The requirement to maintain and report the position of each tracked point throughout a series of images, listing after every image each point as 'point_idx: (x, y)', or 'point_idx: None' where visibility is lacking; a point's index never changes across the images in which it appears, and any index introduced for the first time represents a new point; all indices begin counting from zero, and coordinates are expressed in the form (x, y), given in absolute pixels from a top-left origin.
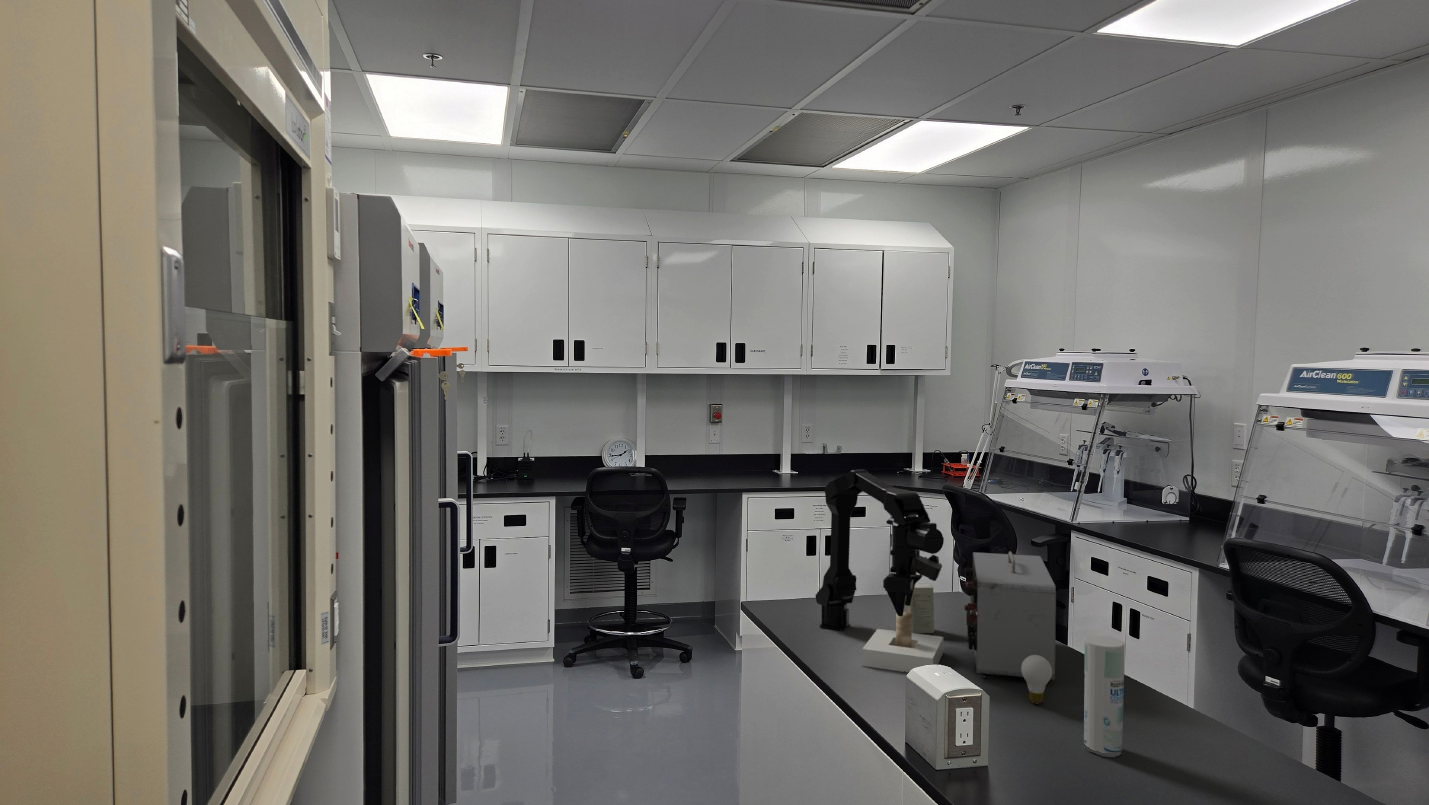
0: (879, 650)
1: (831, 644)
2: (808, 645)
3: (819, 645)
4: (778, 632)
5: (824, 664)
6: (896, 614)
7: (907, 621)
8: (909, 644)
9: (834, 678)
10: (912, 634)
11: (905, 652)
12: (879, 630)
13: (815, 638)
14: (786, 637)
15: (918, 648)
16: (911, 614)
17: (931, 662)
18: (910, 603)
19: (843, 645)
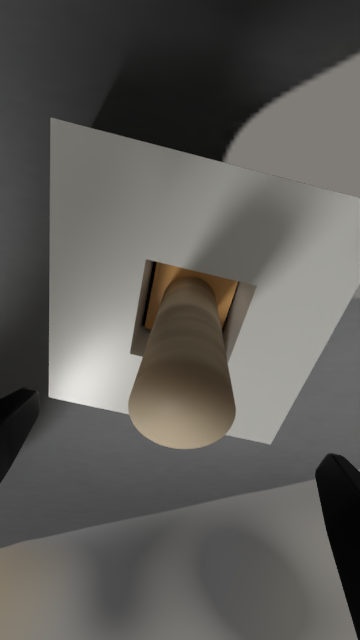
0: (286, 403)
1: (111, 457)
2: (133, 492)
3: (127, 476)
4: (70, 530)
5: (253, 470)
6: (190, 446)
7: (227, 373)
8: (210, 302)
9: (346, 456)
10: (69, 281)
11: (309, 322)
12: (66, 393)
13: (81, 481)
14: (96, 520)
15: (257, 267)
16: (179, 369)
17: None
18: (24, 400)
19: (110, 436)
